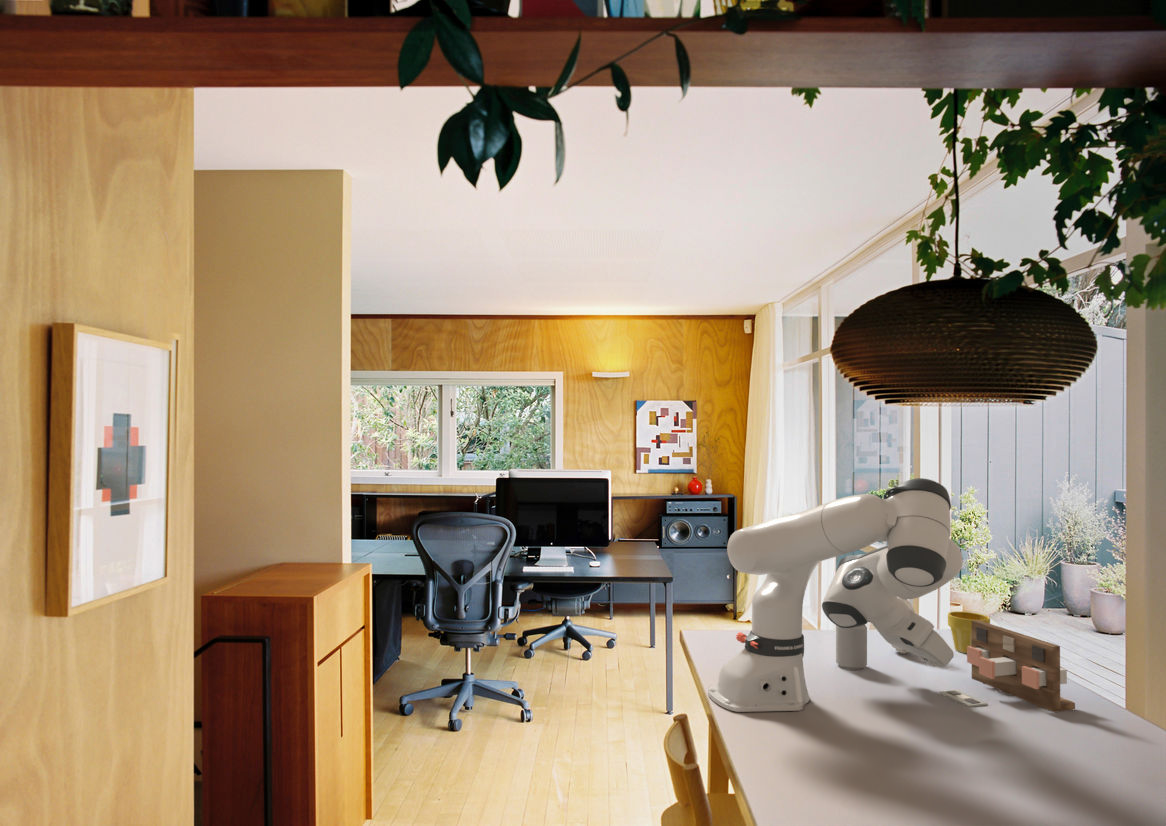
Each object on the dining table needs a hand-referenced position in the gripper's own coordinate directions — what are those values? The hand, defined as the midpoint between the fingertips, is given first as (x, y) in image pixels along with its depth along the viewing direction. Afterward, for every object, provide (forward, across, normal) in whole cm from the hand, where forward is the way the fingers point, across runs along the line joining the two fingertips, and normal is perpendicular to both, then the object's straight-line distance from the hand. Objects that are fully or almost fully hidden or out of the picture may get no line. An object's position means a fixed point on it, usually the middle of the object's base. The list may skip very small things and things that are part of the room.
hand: (932, 662), depth 179 cm
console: (+16, +8, +8) cm, 20 cm away
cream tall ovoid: (+13, -26, +4) cm, 29 cm away
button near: (+12, +16, +10) cm, 23 cm away
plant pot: (+26, -23, +18) cm, 39 cm away
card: (+5, +8, -3) cm, 10 cm away
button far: (+12, 0, +10) cm, 16 cm away
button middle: (+9, +8, +7) cm, 14 cm away
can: (-2, -19, -10) cm, 22 cm away
